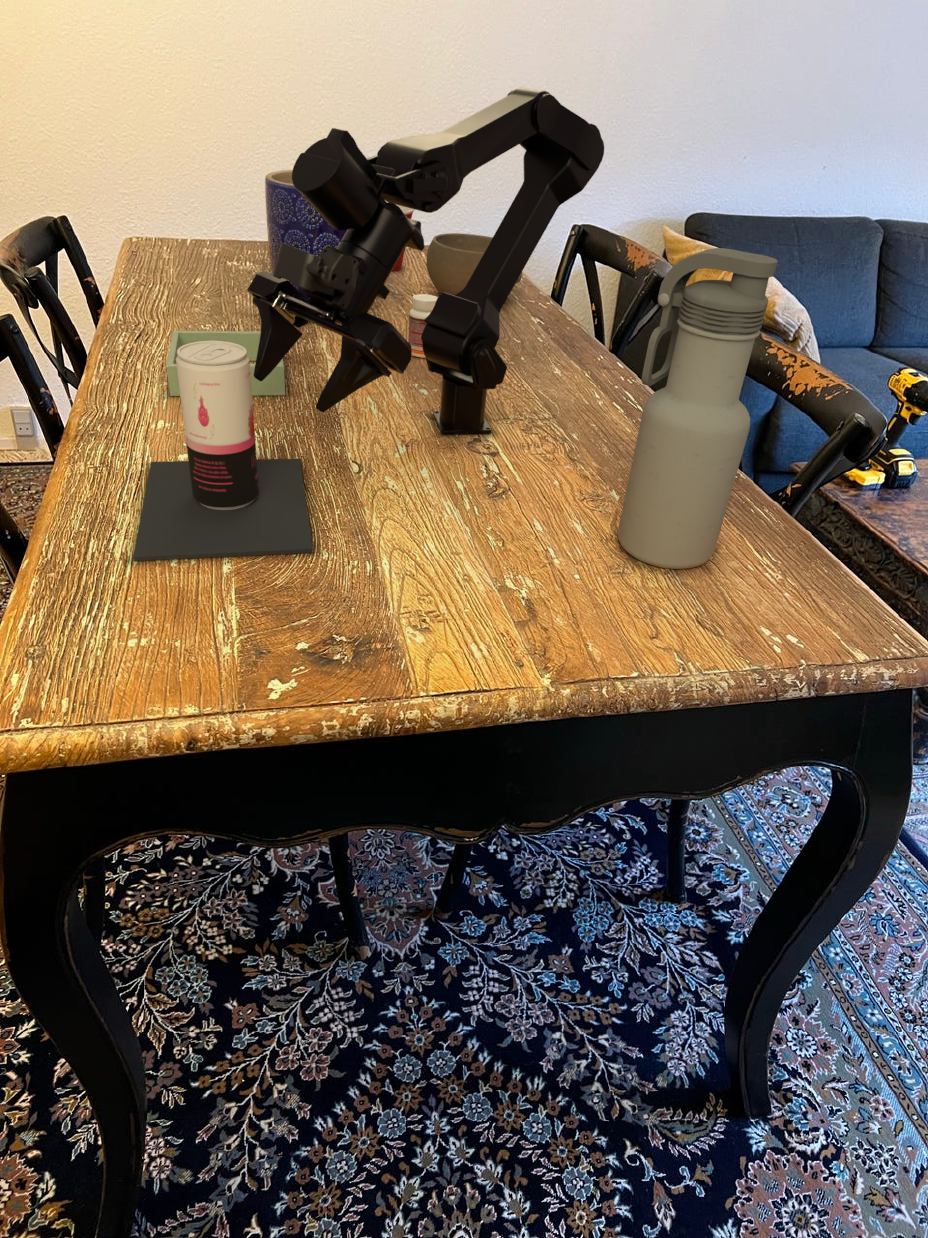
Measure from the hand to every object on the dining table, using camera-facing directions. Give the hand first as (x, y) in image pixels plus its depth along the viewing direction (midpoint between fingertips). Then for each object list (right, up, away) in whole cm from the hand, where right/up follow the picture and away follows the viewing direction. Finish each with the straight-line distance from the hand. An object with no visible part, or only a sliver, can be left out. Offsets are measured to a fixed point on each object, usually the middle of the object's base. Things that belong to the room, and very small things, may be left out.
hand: (287, 394), depth 85 cm
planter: (-6, +29, +58) cm, 66 cm away
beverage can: (-6, -10, +1) cm, 12 cm away
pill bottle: (+12, +18, +45) cm, 50 cm away
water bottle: (+38, -16, +1) cm, 41 cm away
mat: (-6, -11, +1) cm, 13 cm away
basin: (-14, +11, +30) cm, 35 cm away
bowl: (+19, +38, +73) cm, 85 cm away
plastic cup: (+2, +49, +88) cm, 101 cm away
